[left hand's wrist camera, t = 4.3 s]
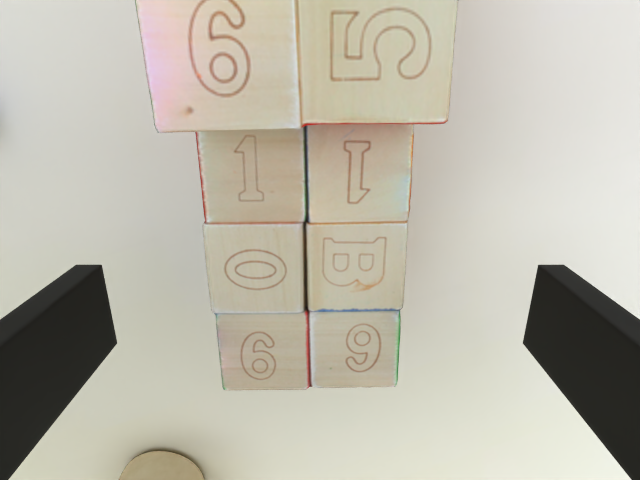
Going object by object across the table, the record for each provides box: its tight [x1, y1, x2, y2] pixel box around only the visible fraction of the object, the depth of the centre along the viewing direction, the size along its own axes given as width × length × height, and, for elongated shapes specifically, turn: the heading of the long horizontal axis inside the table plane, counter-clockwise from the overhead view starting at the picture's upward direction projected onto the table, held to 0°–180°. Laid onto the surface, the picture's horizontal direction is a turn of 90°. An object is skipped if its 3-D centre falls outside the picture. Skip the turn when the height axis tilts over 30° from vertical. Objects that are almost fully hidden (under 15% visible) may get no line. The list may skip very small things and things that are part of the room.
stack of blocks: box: [135, 0, 458, 390], centre depth 14 cm, size 21×6×12 cm, turn 0°
